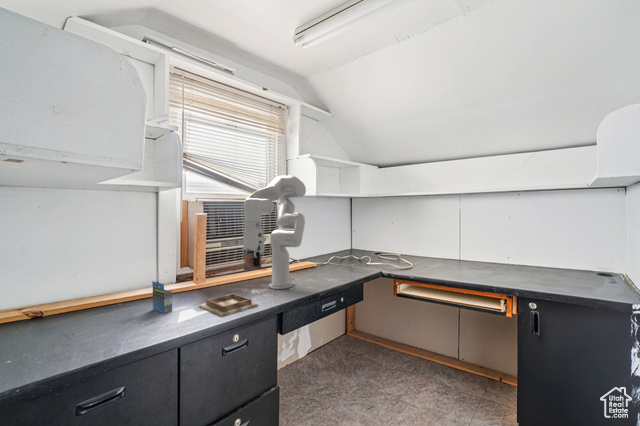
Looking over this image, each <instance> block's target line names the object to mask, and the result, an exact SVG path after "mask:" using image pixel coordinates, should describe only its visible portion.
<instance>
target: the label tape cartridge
mask: <svg viewBox="0 0 640 426" xmlns="http://www.w3.org/2000/svg"><path fill="white" fill-rule="evenodd" d="M151 284H152V310H153V311H156V312H159V313H162V314H167V313H171V312H172V311H173V291H170V290H167V289H165V286H164V285H165V284H164V283H161V282H157V281H152V283H151Z"/></svg>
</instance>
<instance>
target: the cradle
mask: <svg viewBox="0 0 640 426" xmlns="http://www.w3.org/2000/svg"><path fill="white" fill-rule="evenodd" d="M205 301H206V302H204V303H201V304H200V303H199V308H202V309H204V310H206V311H208V312H211V313H213V314H214V313H215V315H217V316H218V317H221V316H222V317H225V315H226V316H228V314H229V315H231V314H234V313H235V312H236V313H238V311H239V312H242V310H243V311H246V310H249V309H253V308H256V307H258V306H259V304H258V303H257V302H254V301H253V300H252V298H249V297H246V296H243V295H241V294H237V293H235V292H234V293H229V294H226V295H222V296H216V297H212V298H209V299H206V300H205ZM245 309H246V310H245ZM236 313H235V314H236Z"/></svg>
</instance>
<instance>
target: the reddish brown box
mask: <svg viewBox="0 0 640 426" xmlns="http://www.w3.org/2000/svg"><path fill="white" fill-rule="evenodd" d="M257 250H258V249H257ZM256 253H258V252H256ZM243 255H244V256H243V258H244V260H243V263H244V265H243V266H244V267H243V270H244V271H257V270H258V271H259V270H260V271H261V270H262V269H263V267H262V255H263V254H262V255H261V257H260V266H257V267H254V266H253V258H255V257H254V251H250V250H248V248H247V253H243Z"/></svg>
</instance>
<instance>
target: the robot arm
mask: <svg viewBox="0 0 640 426" xmlns="http://www.w3.org/2000/svg"><path fill="white" fill-rule="evenodd" d="M306 192H307V189H306V185H305V183H304V182H302V180H301V179H299V178H298V177H297V176H295V175H279V176H276V177H275V178H273V180H272V181H271V182H270V183H269V184H268V185H267V186H266V187H263V188H261V189H258V190H256V191H253V192H252V193H251V194H249V195H248V196H247V197H246V199H245V200H244V202H243V207H242V208H243V211H244V230H243V239H242V248H241V249H242V251H243V252H244V253H247V248H248V250H250V251H254V257H255V258H253V266H254V267H257V266H260V257H261V258H262V256H261V255H263V254H264V252H265V237H264V236H265V235H264V229H263V228H262V225H263V223H262V221H263V220H262V216H263V215H270V214H271V213H272V212H273V211H274V207H275V205H274V202H275V201H278V200H279V204H280V207H279V211H278V215H277V219H276V226H277V227H278V228H279V229H275V230H272V232H271V233H270V236H269V240H270V246H271V283H269V284H268V287H269V288H271V289H273V290H274V289H275V290H284V289H289V288H291V287H292V286H293V284H292V283H291V282H293V281H296V277H294V276H293V277H290V253H289V251H288V249H287V248H299V247H300V246H301V244H302V240H303V236H304V231H305V224H306V219H305V215H304V214H303V213H300V212H295V211H296V206H295V204H294V202H293V201H292V200H291V199H290V198H303V197H304V196H305V195H306ZM257 249H258V250H257ZM250 251H249V252H250ZM256 252H258V253H256ZM244 253H243V254H244Z"/></svg>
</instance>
